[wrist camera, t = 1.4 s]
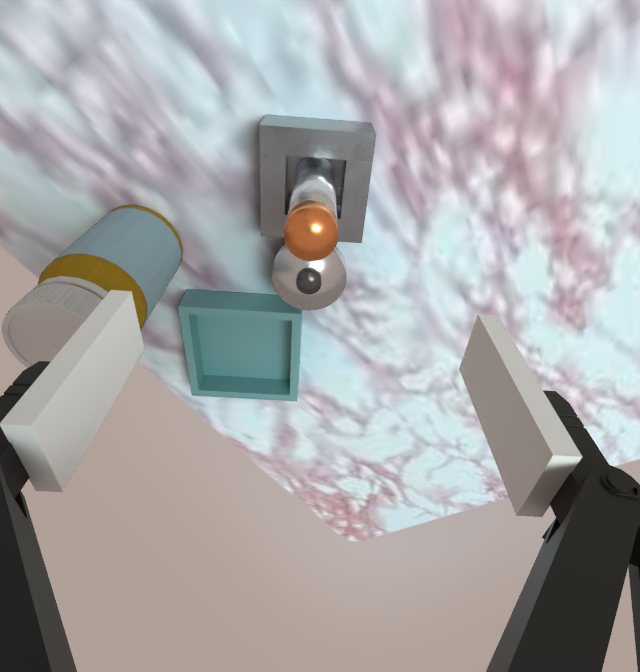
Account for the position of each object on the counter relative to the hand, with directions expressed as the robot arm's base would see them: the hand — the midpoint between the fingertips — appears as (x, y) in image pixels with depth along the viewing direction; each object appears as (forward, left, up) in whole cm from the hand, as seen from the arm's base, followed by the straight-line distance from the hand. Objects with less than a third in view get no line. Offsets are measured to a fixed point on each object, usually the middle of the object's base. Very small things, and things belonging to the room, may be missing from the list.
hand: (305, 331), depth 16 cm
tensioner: (+3, 0, -21) cm, 22 cm away
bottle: (+7, -15, -22) cm, 27 cm away
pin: (0, 0, -20) cm, 20 cm away
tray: (+17, -6, -21) cm, 28 cm away
